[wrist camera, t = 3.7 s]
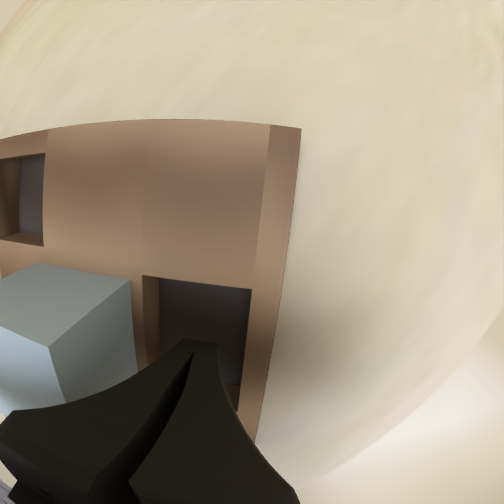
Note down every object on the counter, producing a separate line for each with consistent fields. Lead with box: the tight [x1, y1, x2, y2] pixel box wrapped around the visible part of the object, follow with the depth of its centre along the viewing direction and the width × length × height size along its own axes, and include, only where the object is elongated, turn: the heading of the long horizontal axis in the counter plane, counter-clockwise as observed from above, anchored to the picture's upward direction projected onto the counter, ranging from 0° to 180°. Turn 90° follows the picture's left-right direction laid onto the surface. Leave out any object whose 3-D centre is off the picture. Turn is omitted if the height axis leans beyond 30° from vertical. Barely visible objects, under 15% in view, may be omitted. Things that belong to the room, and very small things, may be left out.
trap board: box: [0, 119, 301, 443], centre depth 10 cm, size 17×19×4 cm
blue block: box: [0, 262, 138, 417], centre depth 8 cm, size 5×5×5 cm
